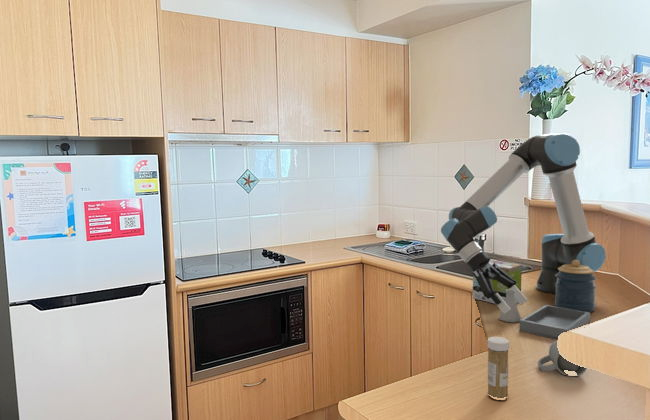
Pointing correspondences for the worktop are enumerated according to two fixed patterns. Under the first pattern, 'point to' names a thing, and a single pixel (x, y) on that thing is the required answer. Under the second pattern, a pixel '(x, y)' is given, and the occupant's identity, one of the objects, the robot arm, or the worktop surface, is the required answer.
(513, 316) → the flask
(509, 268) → the tea box
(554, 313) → the charcoal tray
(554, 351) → the ceramic mug
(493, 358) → the sprinkles bottle
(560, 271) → the canister
